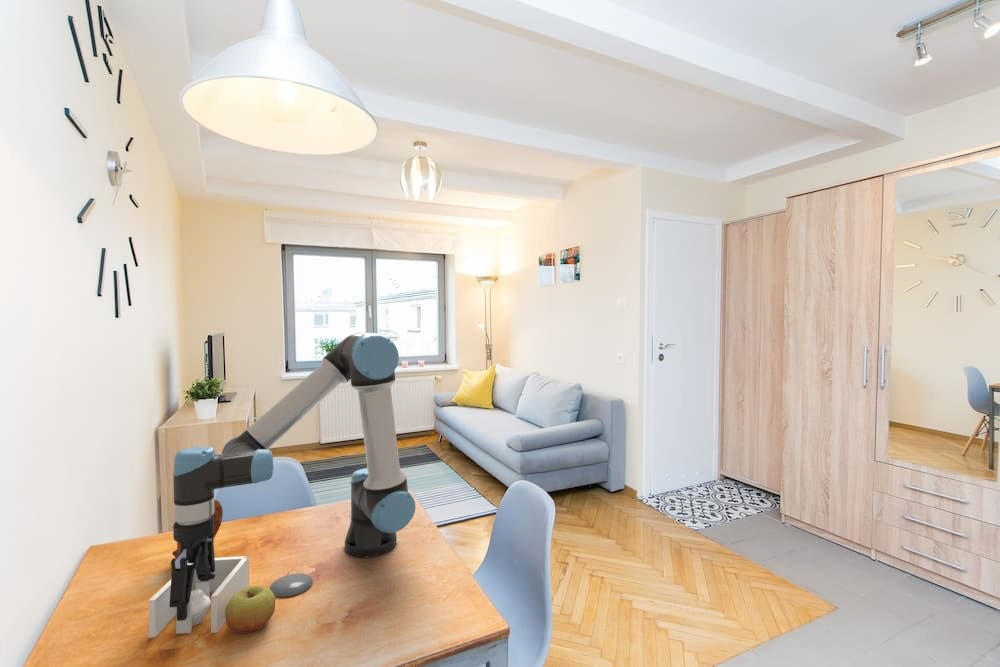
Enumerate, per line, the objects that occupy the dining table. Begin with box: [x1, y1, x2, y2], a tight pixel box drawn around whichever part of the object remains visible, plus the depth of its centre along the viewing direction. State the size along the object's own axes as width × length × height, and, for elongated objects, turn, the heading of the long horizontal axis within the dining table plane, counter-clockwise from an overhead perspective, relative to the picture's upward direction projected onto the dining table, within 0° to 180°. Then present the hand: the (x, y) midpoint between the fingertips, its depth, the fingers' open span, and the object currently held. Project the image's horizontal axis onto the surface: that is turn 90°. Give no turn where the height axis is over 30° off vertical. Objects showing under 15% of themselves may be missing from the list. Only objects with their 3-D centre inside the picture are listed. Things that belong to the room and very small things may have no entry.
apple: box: [225, 584, 276, 634], centre depth 101 cm, size 10×10×8 cm
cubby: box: [148, 555, 250, 639], centre depth 106 cm, size 13×17×8 cm
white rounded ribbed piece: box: [190, 590, 211, 627], centre depth 102 cm, size 6×6×7 cm
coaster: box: [268, 572, 313, 599], centre depth 117 cm, size 10×10×1 cm
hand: (193, 620), depth 102 cm, fingers open, 7 cm apart
